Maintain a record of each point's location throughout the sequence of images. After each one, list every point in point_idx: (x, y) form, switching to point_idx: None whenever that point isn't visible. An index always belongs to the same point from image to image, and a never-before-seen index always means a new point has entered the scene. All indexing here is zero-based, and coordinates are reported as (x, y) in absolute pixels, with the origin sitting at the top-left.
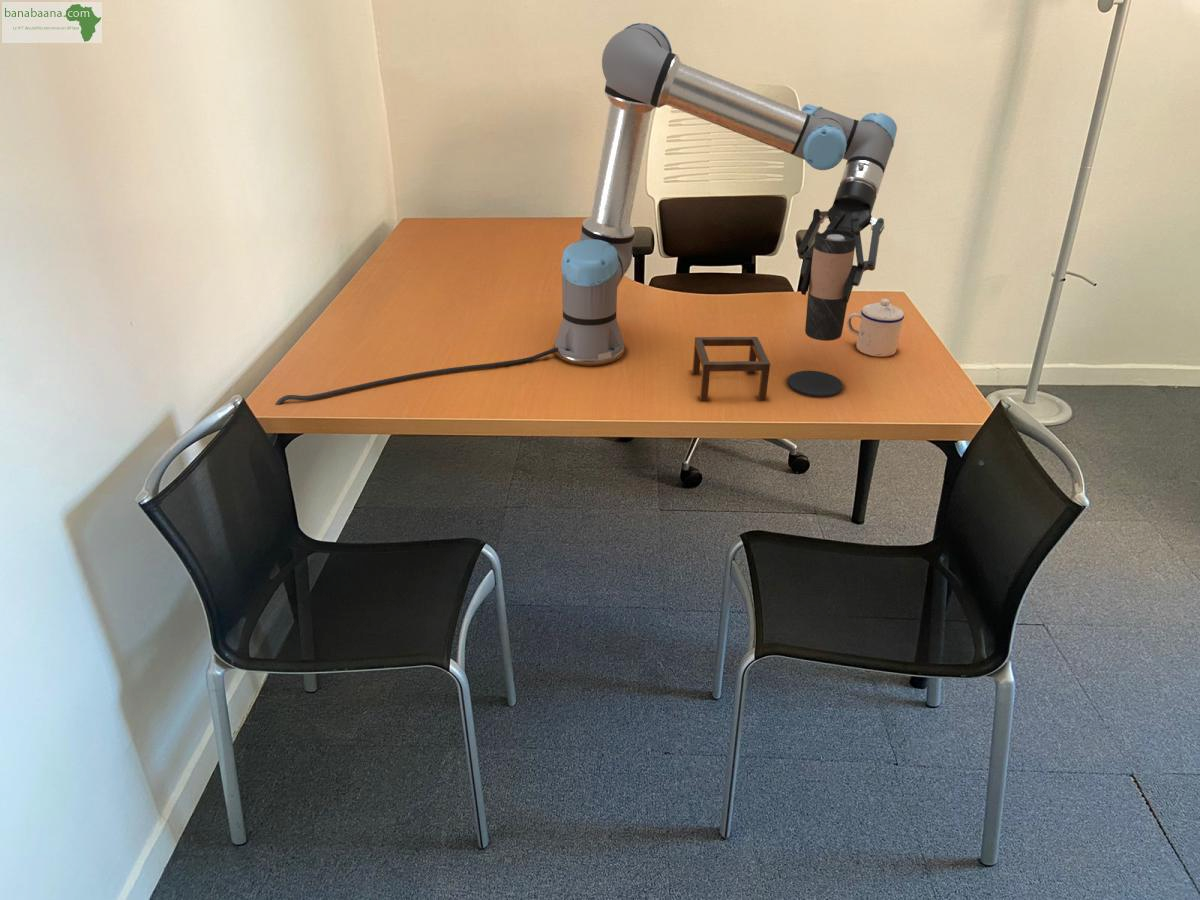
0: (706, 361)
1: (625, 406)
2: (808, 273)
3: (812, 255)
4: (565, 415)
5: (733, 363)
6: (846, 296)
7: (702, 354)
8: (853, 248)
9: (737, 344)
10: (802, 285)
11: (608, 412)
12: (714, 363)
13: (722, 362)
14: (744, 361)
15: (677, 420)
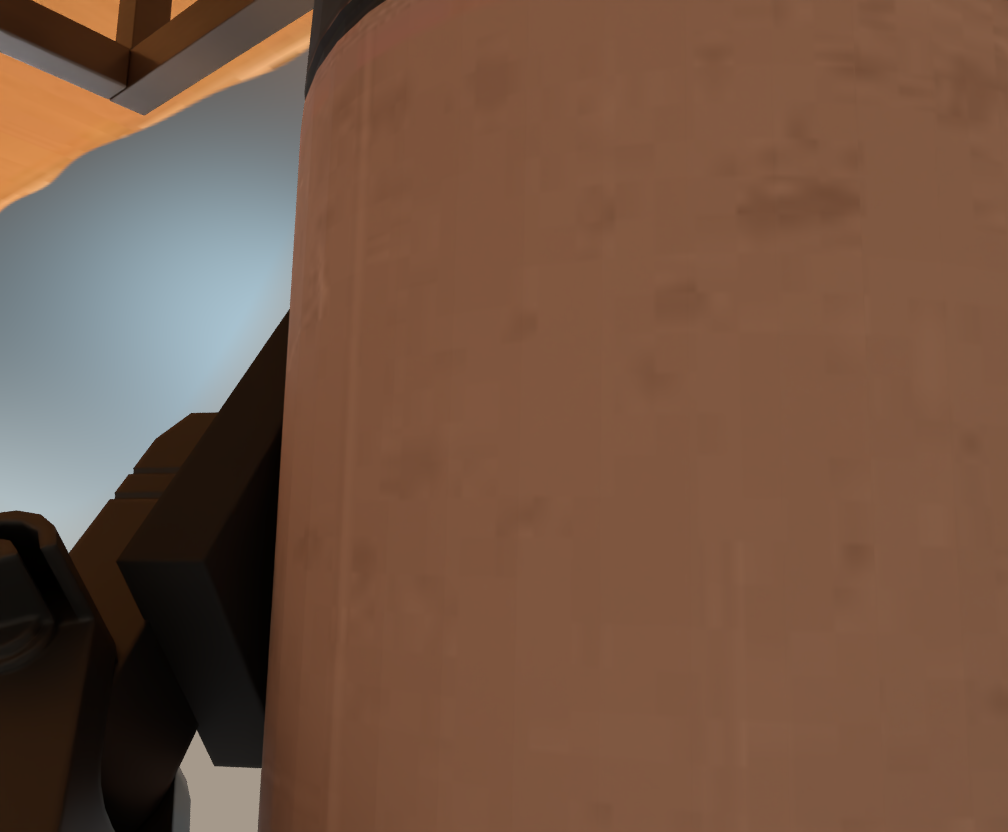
0: (117, 92)
1: (37, 83)
2: None
3: (172, 819)
4: (9, 175)
5: (230, 51)
6: None
7: (14, 52)
8: None
9: None
10: None
11: (54, 124)
12: (165, 91)
13: (181, 68)
14: (251, 8)
15: (249, 67)
